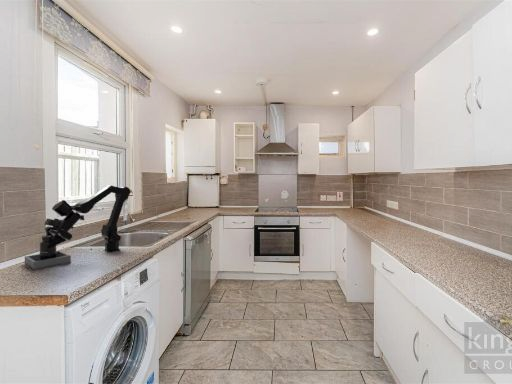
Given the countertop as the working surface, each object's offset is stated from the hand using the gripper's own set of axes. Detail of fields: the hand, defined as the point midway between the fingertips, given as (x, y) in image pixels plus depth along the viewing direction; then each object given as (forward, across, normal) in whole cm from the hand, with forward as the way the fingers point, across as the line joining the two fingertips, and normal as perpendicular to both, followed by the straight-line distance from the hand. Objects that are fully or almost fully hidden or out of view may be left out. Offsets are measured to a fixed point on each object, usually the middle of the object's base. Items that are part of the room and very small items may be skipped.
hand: (44, 247), depth 138 cm
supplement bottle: (+4, 0, +6) cm, 7 cm away
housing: (+5, 0, +7) cm, 9 cm away
